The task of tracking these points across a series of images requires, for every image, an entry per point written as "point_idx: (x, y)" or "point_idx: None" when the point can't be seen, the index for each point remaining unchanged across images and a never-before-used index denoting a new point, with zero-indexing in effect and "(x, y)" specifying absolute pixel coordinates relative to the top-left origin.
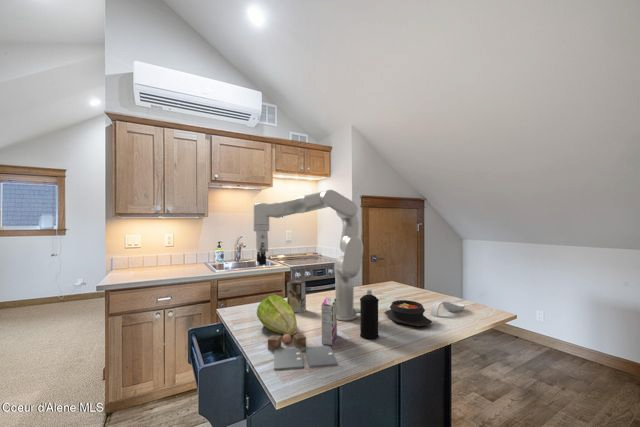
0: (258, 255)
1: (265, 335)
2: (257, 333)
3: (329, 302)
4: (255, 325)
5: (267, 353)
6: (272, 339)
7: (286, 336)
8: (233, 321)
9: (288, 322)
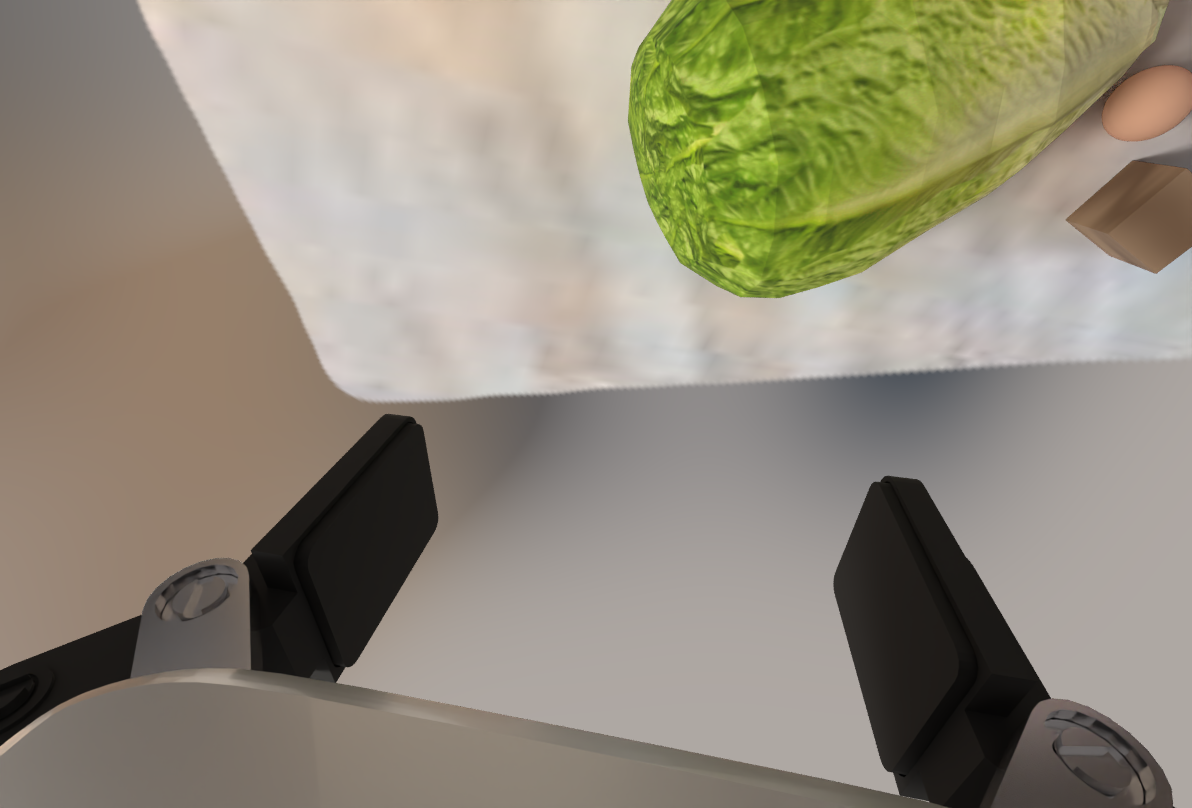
0: (359, 626)
1: None
2: None
3: None
4: None
5: None
6: (1188, 244)
7: (1185, 113)
8: (564, 366)
9: (1125, 56)
